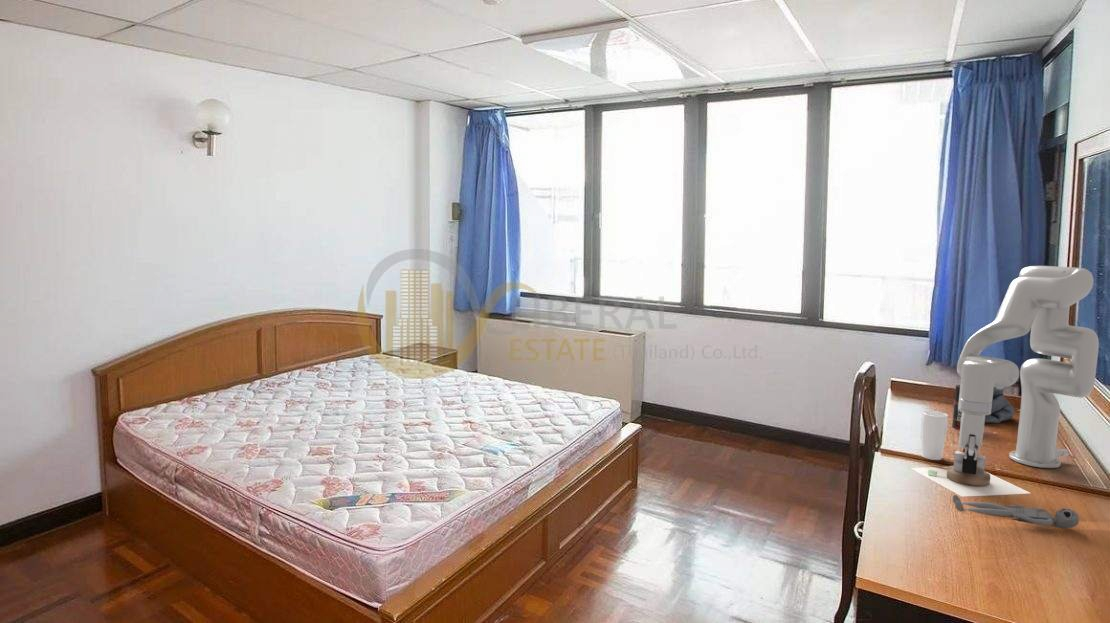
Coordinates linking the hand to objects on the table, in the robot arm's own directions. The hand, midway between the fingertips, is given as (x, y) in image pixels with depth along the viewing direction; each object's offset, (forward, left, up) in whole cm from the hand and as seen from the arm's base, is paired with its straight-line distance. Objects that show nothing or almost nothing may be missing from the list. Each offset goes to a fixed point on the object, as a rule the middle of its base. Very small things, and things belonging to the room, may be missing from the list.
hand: (968, 467), depth 175 cm
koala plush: (-57, -59, -5) cm, 82 cm away
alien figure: (+5, +21, -5) cm, 22 cm away
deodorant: (-38, -48, -5) cm, 61 cm away
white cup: (-3, -18, -5) cm, 19 cm away
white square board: (0, 0, -5) cm, 5 cm away
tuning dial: (+1, -1, -3) cm, 4 cm away
